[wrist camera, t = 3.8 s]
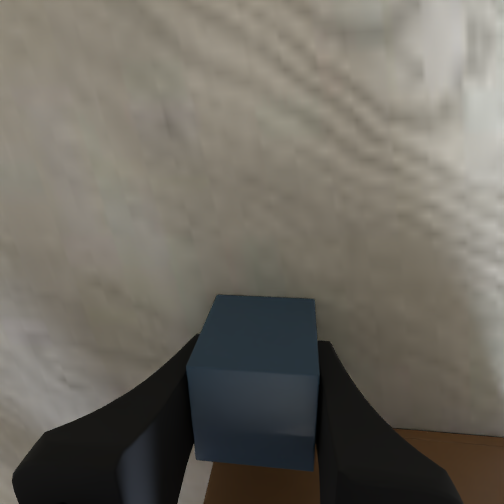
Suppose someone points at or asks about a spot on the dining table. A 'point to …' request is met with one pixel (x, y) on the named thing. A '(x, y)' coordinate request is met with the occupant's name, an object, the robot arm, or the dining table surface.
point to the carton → (428, 443)
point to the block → (256, 383)
